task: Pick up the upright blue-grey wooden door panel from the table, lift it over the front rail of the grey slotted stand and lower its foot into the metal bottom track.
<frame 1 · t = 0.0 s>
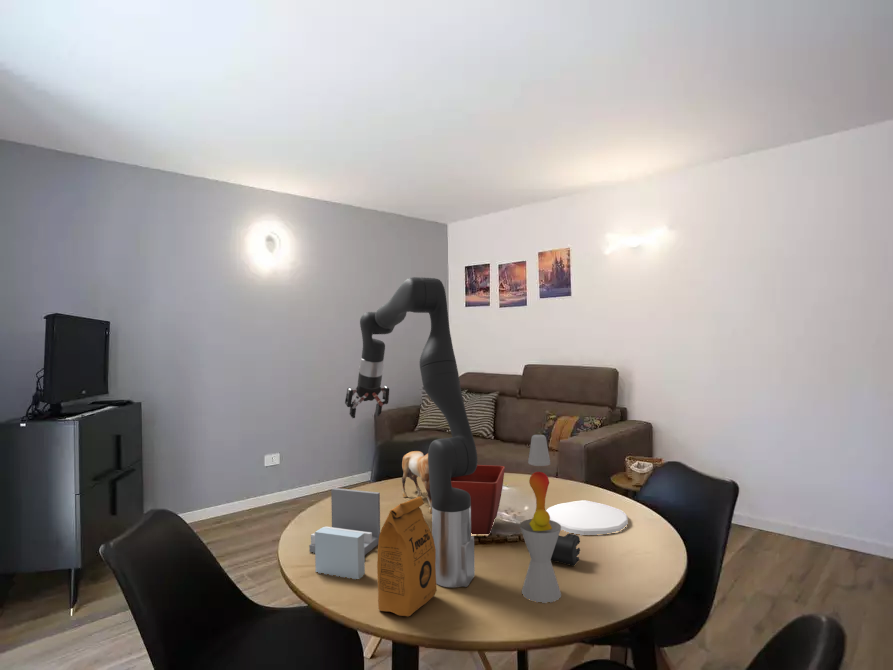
hand: (365, 416, 172), 31 cm above the table, tool tilted 20°, fingers open, 8 cm apart
decorative plate: (586, 522, 160), on the table
grey slotted stand: (345, 547, 142), on the table
horse figurine: (427, 502, 181), on the table
door panel: (340, 573, 127), on the table
coffee package: (408, 605, 111), on the table
lava lamp: (541, 593, 115), on the table
plant pot: (470, 529, 155), on the table
end cap: (558, 561, 132), on the table
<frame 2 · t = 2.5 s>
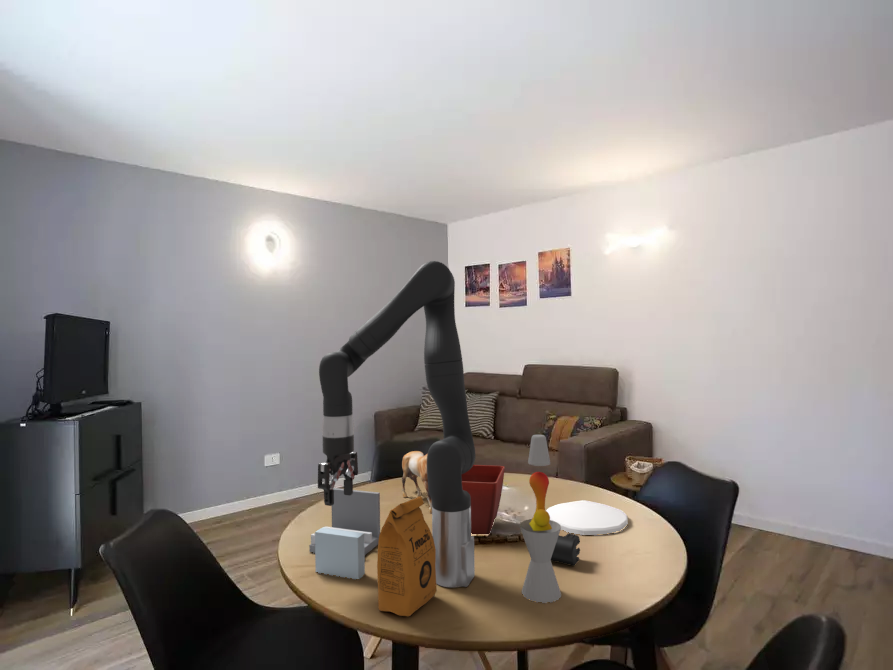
hand: (339, 499, 127), 18 cm above the table, tool pointing down, fingers open, 8 cm apart
nothing on the table moved.
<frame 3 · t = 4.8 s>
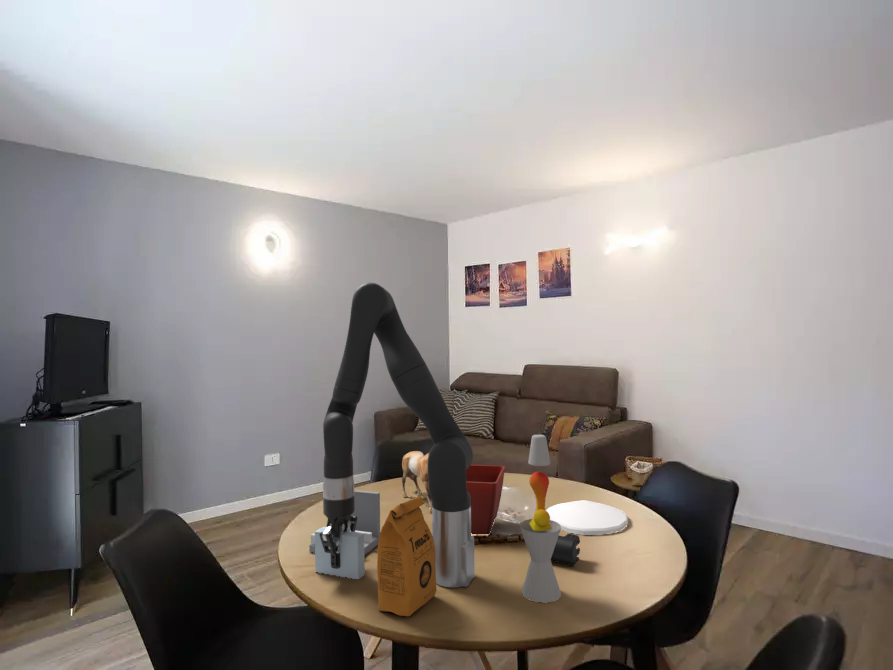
hand: (339, 564, 127), 2 cm above the table, tool pointing down, fingers closed on door panel, 3 cm apart
door panel: (339, 573, 127), on the table, touching gripper
everything else where it was.
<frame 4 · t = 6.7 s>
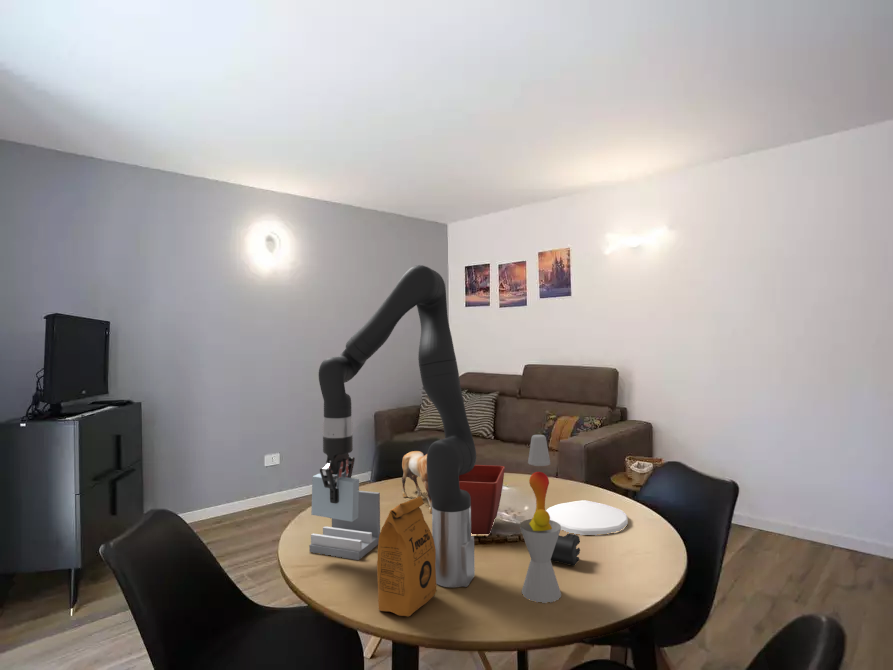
hand: (338, 500, 134), 15 cm above the table, tool pointing down, fingers closed on door panel, 3 cm apart
door panel: (334, 516, 134), point 11 cm above the table, touching gripper
everything else where it was.
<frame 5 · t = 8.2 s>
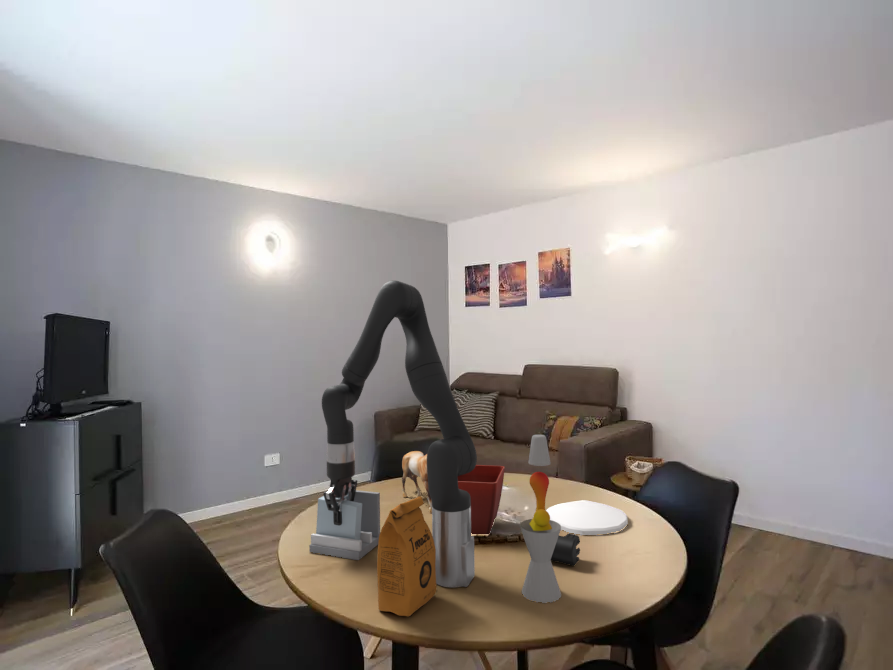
hand: (341, 522, 140), 8 cm above the table, tool pointing down, fingers closed on door panel, 3 cm apart
door panel: (337, 537, 141), point 3 cm above the table, tilted 5°, touching gripper
everything else where it was.
when the fingers open (6 cm above the table, at t = 8.8 s): door panel stays where it is, resting on grey slotted stand.
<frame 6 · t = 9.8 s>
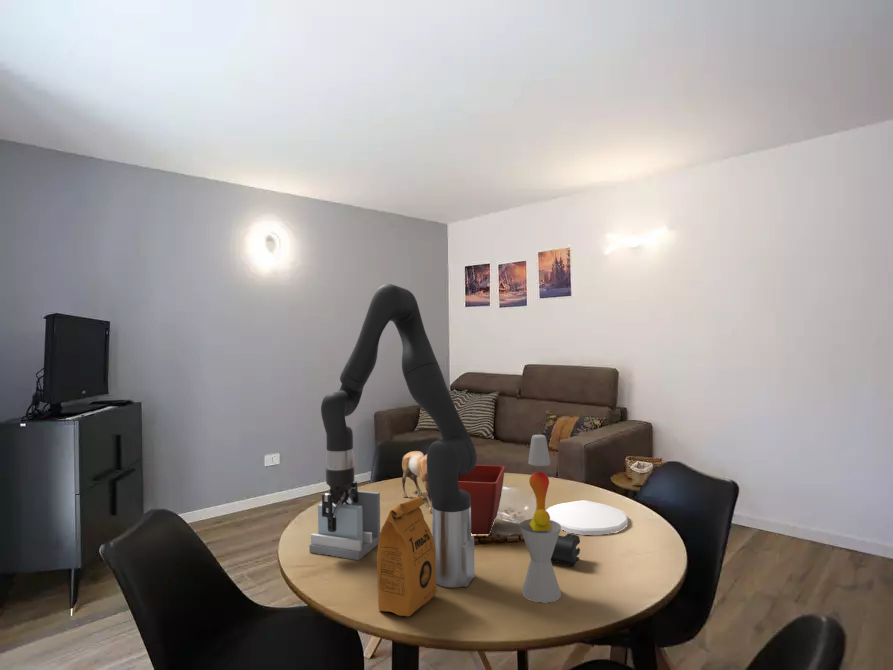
hand: (340, 525, 140), 7 cm above the table, tool pointing down, fingers open, 8 cm apart
door panel: (340, 542, 140), point 2 cm above the table, touching grey slotted stand
everything else where it was.
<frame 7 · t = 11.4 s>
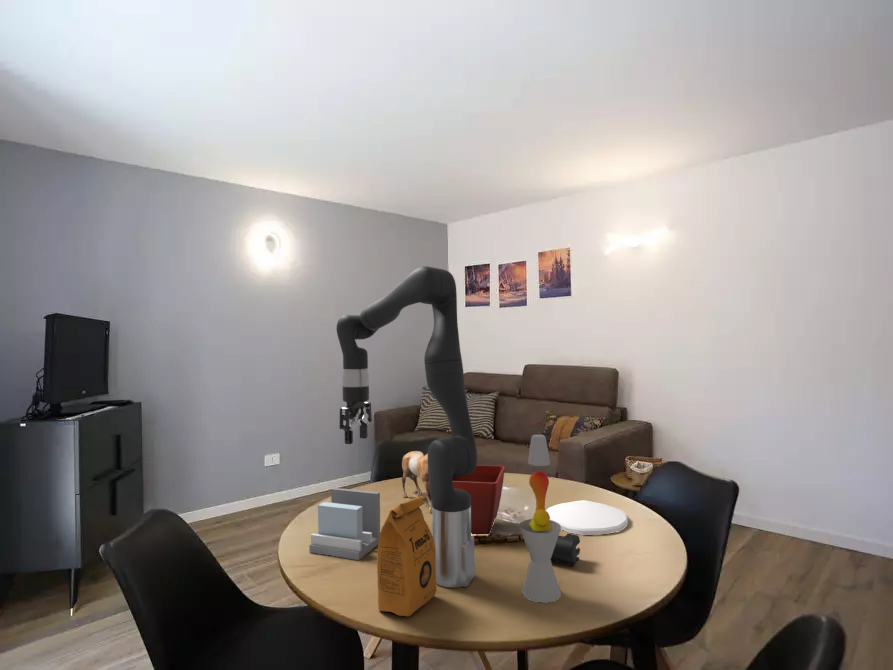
hand: (356, 440, 149), 28 cm above the table, tool pointing down, fingers open, 8 cm apart
nothing on the table moved.
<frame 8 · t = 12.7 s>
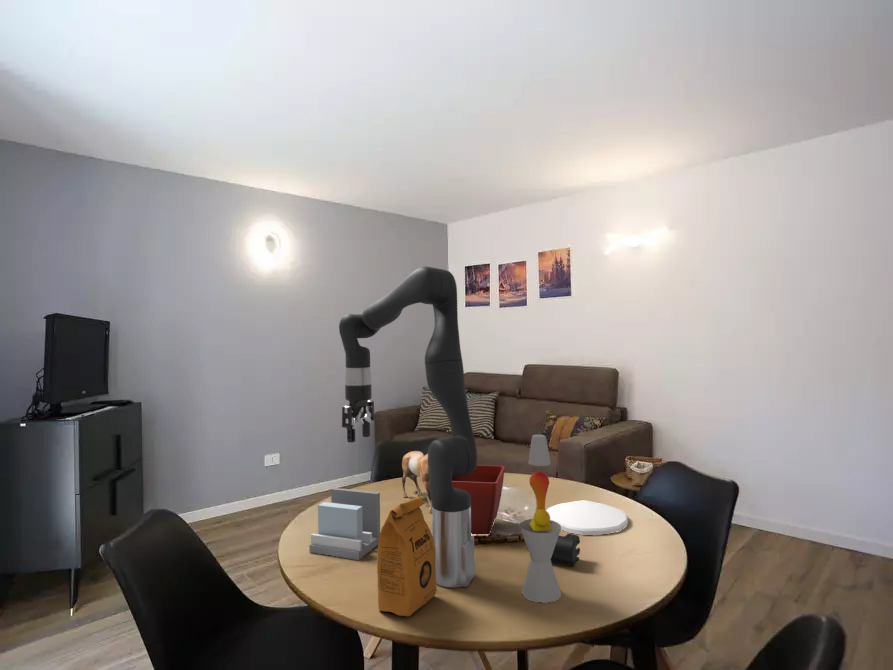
hand: (359, 439, 150), 28 cm above the table, tool pointing down, fingers open, 8 cm apart
nothing on the table moved.
at the end: door panel inside the target area on the grey slotted stand (0.4 cm from its centre), point 2.0 cm above the grey slotted stand's base; door panel tilted 0°; the gripper is holding nothing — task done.
